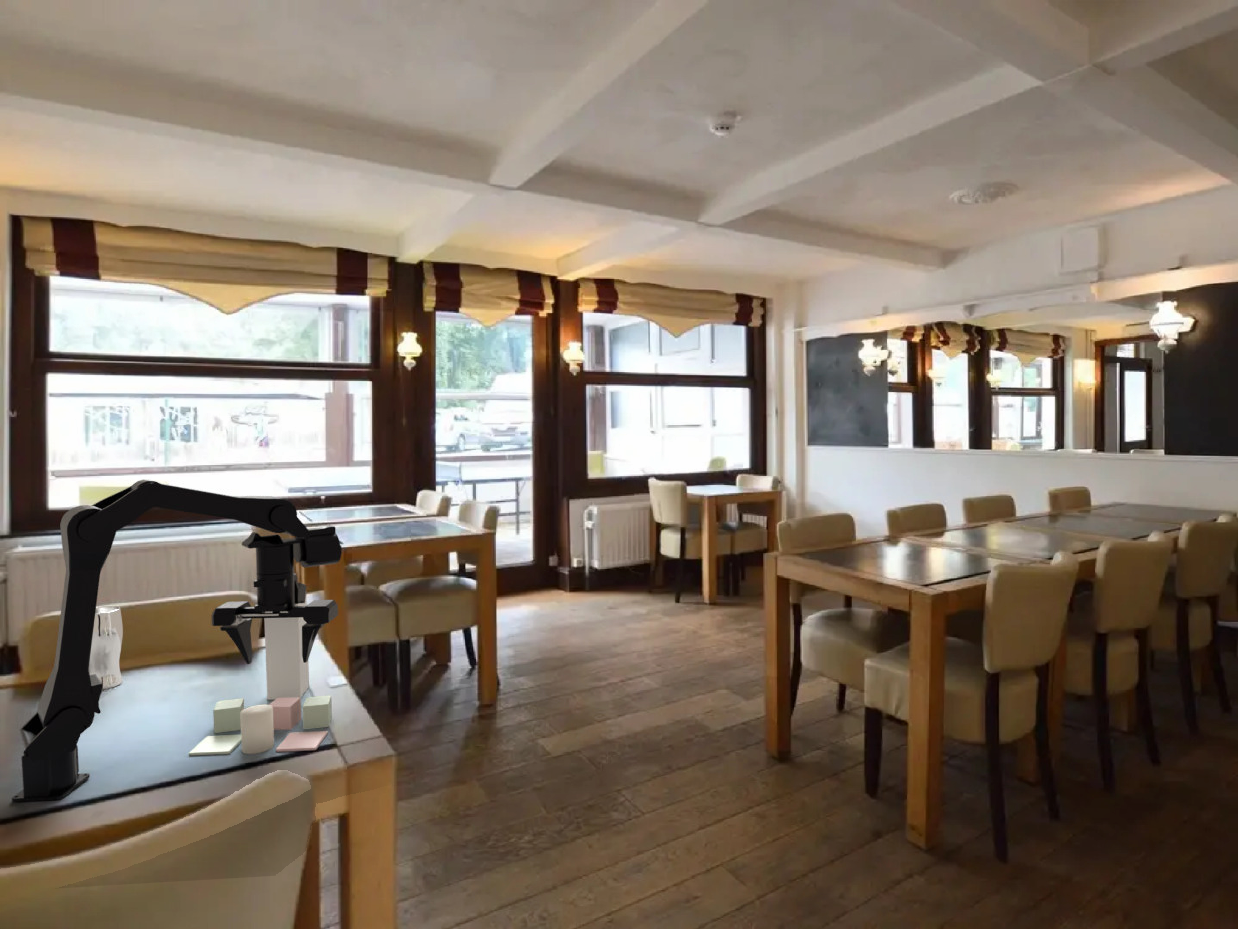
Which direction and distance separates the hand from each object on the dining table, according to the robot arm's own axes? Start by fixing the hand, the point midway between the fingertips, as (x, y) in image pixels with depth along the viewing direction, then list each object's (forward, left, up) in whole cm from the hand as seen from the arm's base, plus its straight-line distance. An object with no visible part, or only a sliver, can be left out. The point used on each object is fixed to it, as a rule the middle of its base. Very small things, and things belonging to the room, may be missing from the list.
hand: (277, 662), depth 122 cm
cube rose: (0, -1, -11) cm, 11 cm away
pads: (-7, 0, -11) cm, 13 cm away
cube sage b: (0, +8, -11) cm, 14 cm away
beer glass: (+23, +42, -11) cm, 49 cm away
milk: (+15, +4, -11) cm, 19 cm away
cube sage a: (0, -6, -11) cm, 13 cm away
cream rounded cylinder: (-8, 0, -11) cm, 14 cm away
